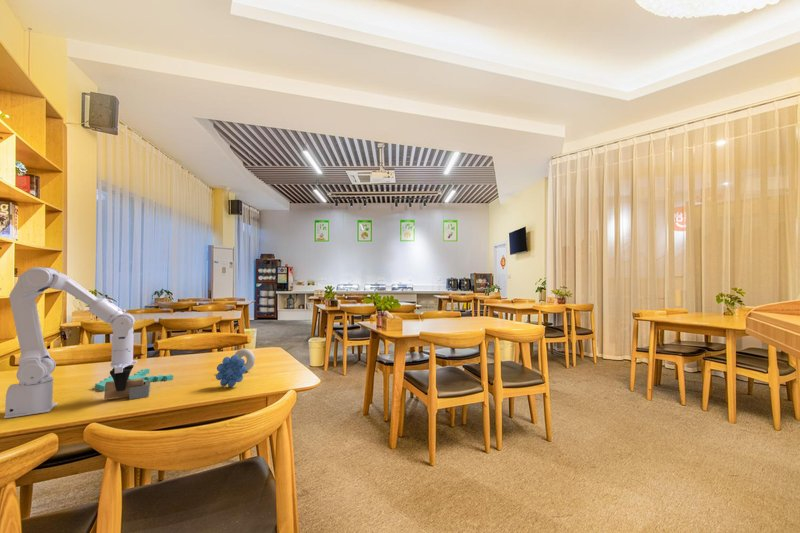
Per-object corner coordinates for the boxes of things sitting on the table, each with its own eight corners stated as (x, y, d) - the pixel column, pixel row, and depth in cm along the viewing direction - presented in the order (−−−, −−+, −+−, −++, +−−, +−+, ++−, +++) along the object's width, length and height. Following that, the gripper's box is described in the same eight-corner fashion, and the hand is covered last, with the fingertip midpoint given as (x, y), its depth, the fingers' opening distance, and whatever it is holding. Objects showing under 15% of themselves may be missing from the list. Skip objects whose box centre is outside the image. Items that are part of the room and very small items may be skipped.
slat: (104, 399, 112) (105, 383, 112) (105, 397, 114) (106, 381, 114) (142, 394, 117) (142, 379, 117) (142, 392, 119) (143, 378, 119)
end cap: (129, 399, 114) (129, 387, 114) (131, 394, 119) (132, 382, 119) (148, 396, 116) (148, 385, 117) (150, 391, 122) (150, 380, 122)
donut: (256, 370, 149) (257, 348, 150) (251, 373, 146) (252, 349, 146) (236, 369, 151) (236, 347, 151) (231, 371, 148) (231, 348, 148)
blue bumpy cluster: (251, 383, 132) (252, 352, 132) (242, 389, 125) (243, 356, 125) (222, 382, 132) (223, 352, 133) (212, 388, 125) (212, 356, 126)
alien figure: (146, 373, 146) (86, 386, 128) (146, 368, 146) (87, 380, 128) (173, 380, 136) (112, 395, 119) (173, 375, 136) (112, 389, 119)
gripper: (134, 351, 111) (133, 393, 111) (139, 344, 124) (138, 381, 123) (106, 354, 108) (105, 397, 107) (114, 346, 120) (113, 385, 120)
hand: (121, 389), depth 115 cm, fingers closed on slat, 2 cm apart
